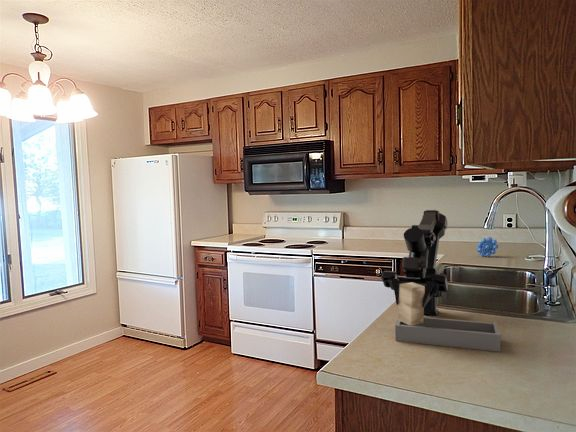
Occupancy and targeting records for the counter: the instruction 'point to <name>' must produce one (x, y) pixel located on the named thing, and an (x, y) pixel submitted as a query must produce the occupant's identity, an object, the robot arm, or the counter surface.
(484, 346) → the box
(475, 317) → the counter surface
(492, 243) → the grapes
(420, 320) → the birch block
